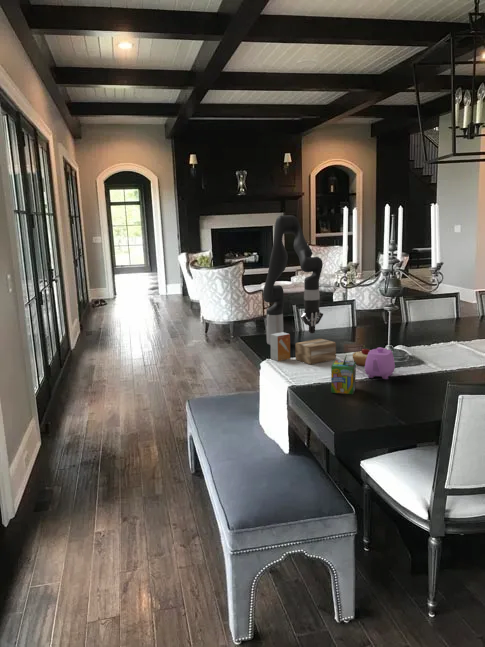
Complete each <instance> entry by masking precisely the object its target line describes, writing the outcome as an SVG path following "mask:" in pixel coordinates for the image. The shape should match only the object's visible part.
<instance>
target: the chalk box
mask: <svg viewBox="0 0 485 647" xmlns="http://www.w3.org/2000/svg"><path fill="white" fill-rule="evenodd" d="M346 359H347V354H345V357H344V360H341V359H340V360H333V362H332V364H331V370H330V371H331V373H330V374H331V376H330V378H331V379H330V380H331V382H330V386H331V387H330V393H331V394H342V395H346V394H347V395H354V393H355V390H356V379H357V378H356V377H357V376H356V373H357V369H356V368H357V367H356V366H357V365H356V361H354V360H346Z"/></svg>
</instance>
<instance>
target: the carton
mask: <svg viewBox="0 0 485 647" xmlns="http://www.w3.org/2000/svg"><path fill="white" fill-rule="evenodd" d="M294 348H295V351H294V352H295V354H294V355H295V361H298V362H301V363H303V362H304V364H307V365H315V364H321V363H326V362H330V361H334V360H335V359H337V344H336V343H335V344H331V345H326V346H320V347H315V348H307V347H303V346H300V345H297V344H296V343H295V346H294Z"/></svg>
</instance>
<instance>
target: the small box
mask: <svg viewBox="0 0 485 647" xmlns="http://www.w3.org/2000/svg"><path fill="white" fill-rule="evenodd" d="M269 346H270V360H272V361H276V362H281V361H285V360H290V359H291V334H290V333H287V332H284V331H283V332H281V333H275V334H270V345H269Z"/></svg>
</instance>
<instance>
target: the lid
mask: <svg viewBox="0 0 485 647" xmlns="http://www.w3.org/2000/svg"><path fill="white" fill-rule="evenodd" d="M295 344H297V345H300V346H303V347H307V348H315V347H320V346H326V345H331V344H336V341H332V340H328V339H323V338H322V337H321V338H315V339H310V340H309V339H308V340H304V341H301V342H295Z"/></svg>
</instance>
